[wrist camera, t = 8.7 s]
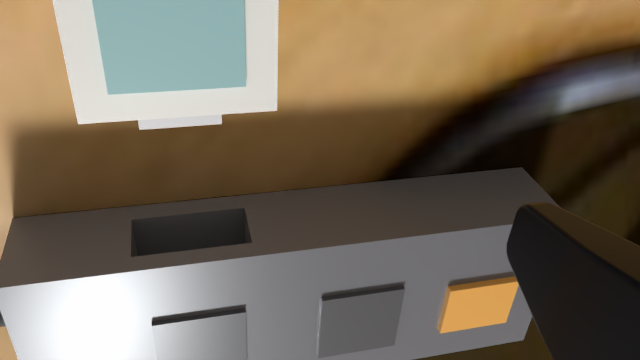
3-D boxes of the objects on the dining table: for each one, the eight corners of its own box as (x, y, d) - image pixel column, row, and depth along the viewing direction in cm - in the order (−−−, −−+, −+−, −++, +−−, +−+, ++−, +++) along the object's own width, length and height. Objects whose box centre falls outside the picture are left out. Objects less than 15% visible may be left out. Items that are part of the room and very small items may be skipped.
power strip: (521, 167, 25) (573, 221, 22) (486, 285, 29) (526, 345, 26) (-153, 234, 19) (-208, 321, 16) (-81, 369, 23) (-115, 459, 20)
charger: (242, -132, 16) (280, -92, 11) (246, 90, 20) (277, 185, 15) (65, -136, 15) (31, -95, 10) (105, 98, 19) (93, 203, 14)
